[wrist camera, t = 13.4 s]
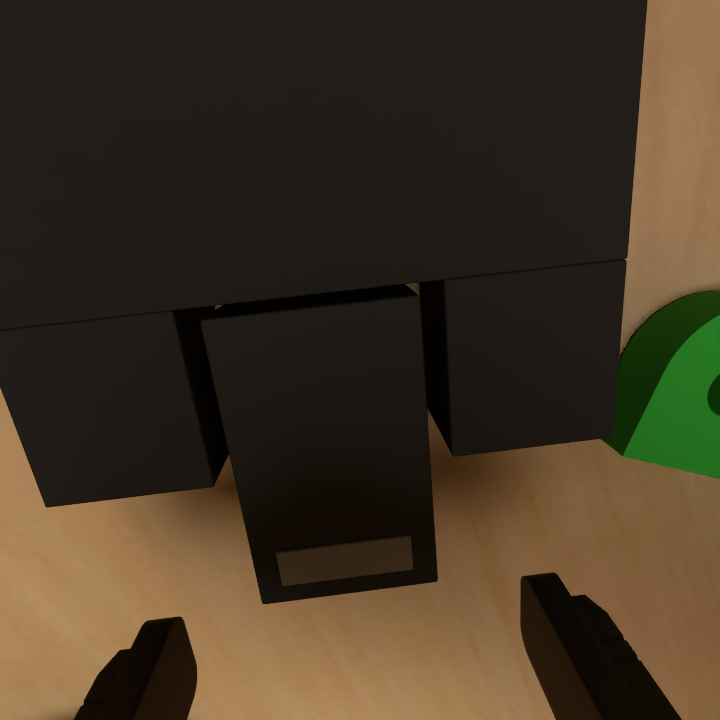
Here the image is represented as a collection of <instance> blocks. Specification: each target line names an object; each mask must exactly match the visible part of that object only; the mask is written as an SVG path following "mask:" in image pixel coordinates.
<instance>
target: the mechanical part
mask: <svg viewBox="0 0 720 720" xmlns="http://www.w3.org/2000/svg"><path fill="white" fill-rule="evenodd" d="M602 440H603V441H604V442H605V443H607V444H608V445H609V446H610V447H612V448H613V449H614V450H615V451H617V452H618V453H619V454H620V455H622V456H624V457H628V458H633V459H637V460H641V461H645V462H650V463H654V464H658V465H662V466H667V467H671V468H675V469H680V470H684V471H688V472H692V473H697V474H701V475H705V476H709V477H714V478H718V479H720V291H707V292H700V293H696V294H692V295H689V296H686V297H683V298H681V299H678V300H676V301H674V302H672V303H670V304H669V305H667V306H665V307H664V308H662V309H661V310H659V311H658V312H657V313H655V314H654V315H653V316H652V317H650V318H649V319H648V320H647V321H646V322H645V323H644V324H643V325H642V326H641V327H640V329H639V330H638V331H637V332H636V333H635V335H634V336H633V337H632V339H631V340H630V342H629V343H628V345H627V347H626V349H625V351H624V353H623V355H622V357H621V359H620V361H619V366H618V378H617V391H616V404H615V417H614V430H613V436H612V437H610V438H602Z"/></svg>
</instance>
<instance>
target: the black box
mask: <svg viewBox="0 0 720 720" xmlns="http://www.w3.org/2000/svg"><path fill="white" fill-rule="evenodd" d="M200 324H201V328H202V333H203V337H204V342H205V346H206V351H207V355H208V360H209V365H210V369H211V374H212V378H213V383H214V387H215V392H216V396H217V401H218V405H219V410H220V414H221V419H222V423H223V428H224V433H225V437H226V442H227V446H228V451H229V455H230V460H231V464H232V469H233V473H234V478H235V482H236V487H237V491H238V496H239V501H240V505H241V510H242V514H243V519H244V523H245V528H246V532H247V537H248V541H249V546H250V550H251V555H252V559H253V564H254V569H255V573H256V578H257V582H258V587H259V591H260V596H261V600H262V603H263V604H270V603H278V602H286V601H293V600H301V599H309V598H316V597H324V596H332V595H339V594H347V593H355V592H362V591H370V590H377V589H385V588H393V587H400V586H408V585H416V584H423V583H431V582H437V580H438V575H437V559H436V543H435V527H434V511H433V495H432V480H431V464H430V448H429V432H428V416H427V401H426V385H425V369H424V353H423V337H422V321H421V306H420V297H419V295H417V294H416V293H415V292H414V291H413V290H411V289H410V288H409V287H408V286H406V285H405V284H401V285H392V286H383V287H374V288H366V289H357V290H348V291H339V292H331V293H322V294H313V295H304V296H295V297H287V298H278V299H269V300H260V301H252V302H243V303H234V304H225V305H222V306H221V307H219V308H218V309H217V310H215V311H214V312H212V313H211V314H210V315H208V316H207V317H205V318H204V319H203V320H201V322H200Z"/></svg>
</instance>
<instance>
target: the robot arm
mask: <svg viewBox="0 0 720 720" xmlns="http://www.w3.org/2000/svg"><path fill="white" fill-rule="evenodd" d="M520 624H521V633H522V638H523V642H524V646H525V649H526V652H527V655H528V657H529V660H530V662H531V664H532V666H533V669H534V671H535V673H536V675H537V678H538V680H539V682H540V685H541V687H542V689H543V691H544V694H545V696H546V698H547V700H548V703H549V705H550V707H551V709H552V712H553V714H554V716H555V718H556V720H682V719H681V718H680V716H679V715H678V714H677V712H676V711H675V709H674V708H673V706H672V705H671V704H670V702H669V701H668V699H667V698H666V696H665V695H664V694H663V692H662V691H661V689H660V688H659V686H658V685H657V683H656V682H655V681H654V679H653V678H652V676H651V675H650V673H649V672H648V671H647V669H646V668H645V666H644V665H643V663H642V662H641V661H640V660H638V658H637V655H636V653H635V652H634V650H633V649H632V648H631V646H630V645H629V643H628V642H627V640H626V641H625V640H624V638H623V635H622V633H621V632H620V630H619V629H618V628H617V626H616V625H615V623H614V622H613V620H612V619H611V618H610V616H609V615H608V613H607V612H606V611H604V610H603V609H602V608H601V607H599V606H598V605H597V604H596V603H594V602H593V601H592V600H591V599H590V598H588V597H587V596H586V595H578V596H571V595H570V593H569V592H568V590H567V589H566V587H565V585H564V584H563V582H562V581H561V579H560V578H559V576H558V575H557V574H556V573H554V572H552V573H544V574H536V575H528V576H522V578H521V614H520ZM196 685H197V665H196V661H195V657H194V654H193V650H192V647H191V643H190V640H189V637H188V633H187V630H186V626H185V623H184V620H183V618H182V617H172V618H164V619H156V620H148V621H146V622H145V623H144V624H143V625H142V627H141V629H140V631H139V633H138V635H137V637H136V639H135V641H134V643H133V645H132V647H131V649H125V650H120V651H119V652H118V653H117V654H116V655H115V656H114V657H113V658H112V659H111V660H110V662H109V663H108V664H107V665H106V666H105V667H104V668H103V669H102V670H101V672H100V673H99V674H98V676H97V677H96V679H95V681H94V683H93V685H92V687H91V688H90V690H89V692H88V694H87V696H86V698H85V700H84V705H83V706H81V707H80V709H79V711H78V713H77V714H76V716H75V718H74V720H187V718H188V715H189V712H190V709H191V705H192V702H193V699H194V695H195V691H196Z"/></svg>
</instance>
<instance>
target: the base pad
mask: <svg viewBox="0 0 720 720" xmlns="http://www.w3.org/2000/svg"><path fill="white" fill-rule="evenodd" d="M646 11H647V0H0V388H1V390H2V393H3V396H4V398H5V401H6V403H7V406H8V409H9V411H10V414H11V417H12V419H13V422H14V425H15V427H16V430H17V432H18V435H19V438H20V440H21V443H22V446H23V448H24V451H25V454H26V456H27V459H28V461H29V464H30V467H31V469H32V472H33V475H34V477H35V480H36V482H37V485H38V488H39V490H40V493H41V496H42V498H43V501H44V504H45V506H46V507H55V506H63V505H72V504H80V503H88V502H96V501H104V500H112V499H120V498H128V497H136V496H144V495H152V494H160V493H168V492H177V491H185V490H193V489H201V488H209V487H213V486H214V485H215V483H216V481H217V479H218V476H219V474H220V472H221V470H222V468H223V466H224V463H225V461H226V459H227V457H228V455H229V451H228V446H227V442H226V437H225V433H224V428H223V423H222V419H221V414H220V410H219V405H218V401H217V396H216V392H215V387H214V383H213V378H212V374H211V369H210V365H209V360H208V355H207V351H206V346H205V342H204V337H203V333H202V328H201V324H200V322H201V320H203V319H204V318H205V317H207V316H208V315H210V314H211V313H212V312H214V311H215V310H214V306H217V305H225V304H234V303H243V302H252V301H260V300H269V299H278V298H287V297H295V296H304V295H313V294H322V293H331V292H339V291H348V290H357V289H366V288H374V287H383V286H392V285H401V284H409V283H418V282H419V284H420V300H421V316H422V331H423V347H424V363H425V378H426V394H427V407H428V409H429V411H430V413H431V415H432V417H433V419H434V421H435V423H436V425H437V427H438V429H439V431H440V433H441V435H442V437H443V439H444V440H445V442H446V444H447V446H448V448H449V450H450V452H451V454H452V456H454V457H456V456H465V455H473V454H481V453H489V452H497V451H505V450H513V449H521V448H529V447H537V446H545V445H553V444H562V443H570V442H578V441H586V440H594V439H602V438H610V437H612V436H613V430H614V417H615V404H616V391H617V378H618V366H619V353H620V340H621V327H622V314H623V301H624V289H625V276H626V263H627V262H626V260H625V258H627V254H628V242H629V229H630V216H631V203H632V190H633V178H634V165H635V152H636V139H637V126H638V114H639V101H640V88H641V75H642V62H643V50H644V37H645V24H646Z"/></svg>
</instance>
